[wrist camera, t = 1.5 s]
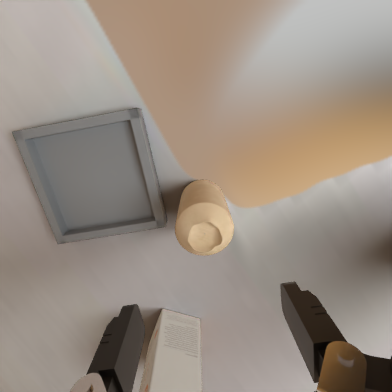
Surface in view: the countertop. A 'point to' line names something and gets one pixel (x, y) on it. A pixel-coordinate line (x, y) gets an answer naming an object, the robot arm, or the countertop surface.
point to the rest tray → (94, 175)
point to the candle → (203, 219)
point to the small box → (174, 355)
